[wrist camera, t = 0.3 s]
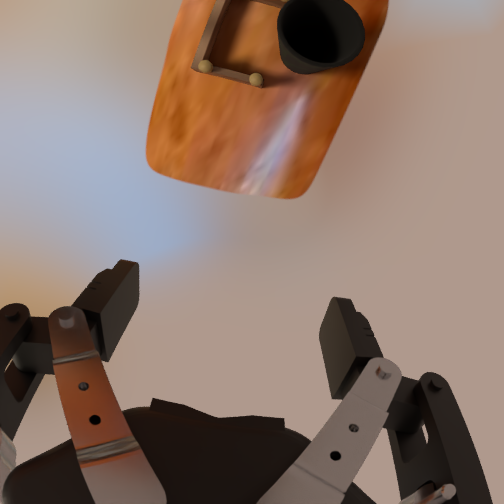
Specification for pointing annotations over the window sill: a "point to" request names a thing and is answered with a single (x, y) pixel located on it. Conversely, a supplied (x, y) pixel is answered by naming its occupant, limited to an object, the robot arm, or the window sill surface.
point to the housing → (209, 39)
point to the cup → (318, 34)
